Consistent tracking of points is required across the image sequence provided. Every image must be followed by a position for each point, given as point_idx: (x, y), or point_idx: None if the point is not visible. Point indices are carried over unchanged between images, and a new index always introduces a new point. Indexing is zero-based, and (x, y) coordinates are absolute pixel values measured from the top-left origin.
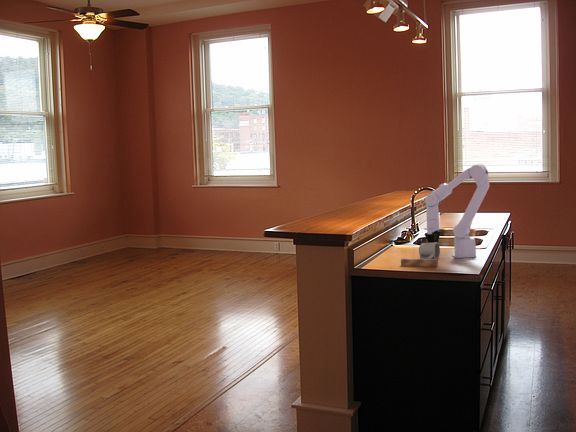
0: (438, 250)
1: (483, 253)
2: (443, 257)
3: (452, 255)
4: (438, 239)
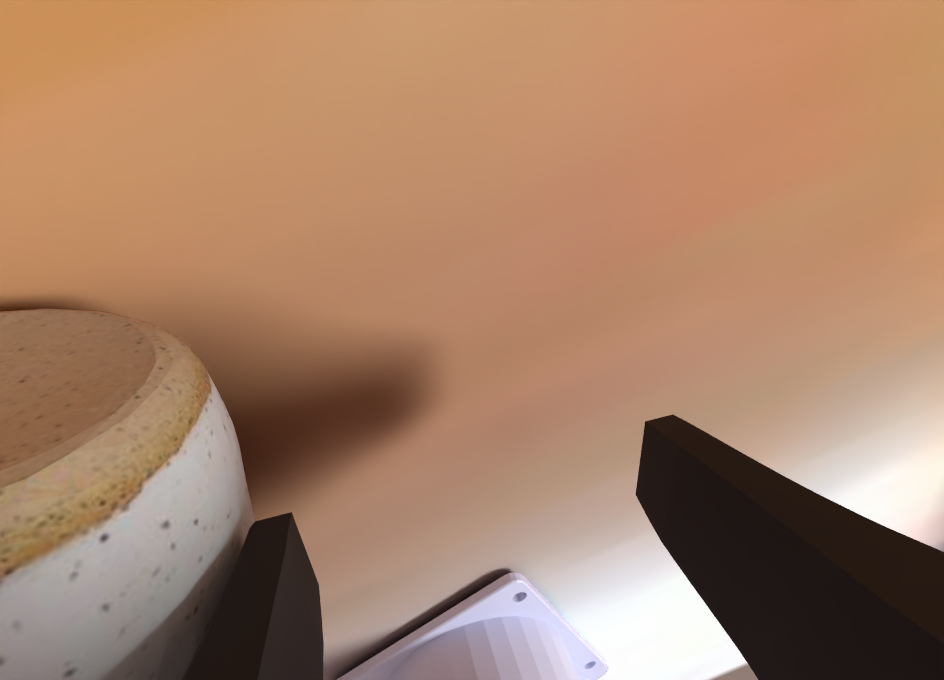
0: None
1: (684, 674)
2: (334, 554)
3: (489, 585)
4: (758, 652)
